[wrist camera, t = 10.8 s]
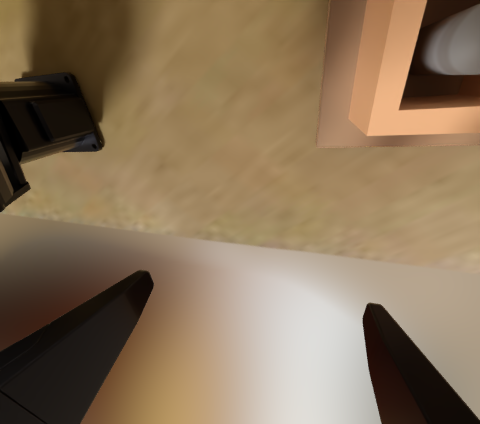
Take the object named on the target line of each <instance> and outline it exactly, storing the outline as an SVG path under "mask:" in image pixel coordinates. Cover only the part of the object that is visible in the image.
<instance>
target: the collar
mask: <svg viewBox="0 0 480 424" xmlns="http://www.w3.org/2000/svg"><path fill="white" fill-rule="evenodd" d="M426 3H427V0H367V3H366V10H365V16H364V23H363V29H362V35H361V42H360V48H359V54H358V61H357V67H356V73H355V80H354V86H353V93H352V99H351V105H350V112H349V118H348V119H349V120H350V121H351V122H352V123H354V124H355V125H356V126H357V127H358V128H359V129H360V130H361V131H362V132H363V133H364V134H365V135H366V136H387V135H423V134H459V133H480V74H478V75H464V78H463V81H462V83H461V86H460V89H459V92H458V94H456V95H440V96H425V97H409V98H402V95H403V91H404V87H405V83H406V80H407V76H408V72H409V68H410V64H411V60H412V56H413V53H414V49H415V45H416V41H417V37H418V33H419V30H420V26H421V22H422V18H423V14H424V10H425V6H426Z"/></svg>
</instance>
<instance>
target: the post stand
mask: <svg viewBox="0 0 480 424" xmlns="http://www.w3.org/2000/svg"><path fill="white" fill-rule="evenodd" d="M366 3H367V0H329V7H328V17H327V28H326V39H325V50H324V61H323V72H322V82H321V93H320V104H319V115H318V126H317V136H316V146H317V148H332V147H394V146H455V145H480V133H459V134H423V135H387V136H366V135H365V134H364V133H363V132H362V131H361V130H360V129H359V128H358V127H357V126H356V125H355V124H354V123H352V122H351V121H350V120H349V119H348V118H349V112H350V105H351V99H352V93H353V86H354V80H355V73H356V67H357V61H358V54H359V48H360V42H361V35H362V29H363V23H364V16H365V10H366ZM478 74H480V0H427V3H426V6H425V10H424V14H423V18H422V22H421V26H420V30H419V33H418V37H417V41H416V45H415V49H414V53H413V56H412V60H411V64H410V68H409V72H408V76H407V80H406V83H405V87H404V91H403V95H402V98H409V97H425V96H440V95H456V94H458V92H459V89H460V86H461V83H462V81H463V78H464V75H478Z"/></svg>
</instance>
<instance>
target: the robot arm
mask: <svg viewBox="0 0 480 424" xmlns="http://www.w3.org/2000/svg"><path fill="white" fill-rule="evenodd" d="M68 78H69V79H68ZM69 80H70V81H69ZM96 146H97V147H96ZM101 149H102V144H101V142H100V139H99V137H98V134H97V132H96V129H95V127H94V124H93V122H92V119H91V116H90V114H89V111H88V109H87V106H86V104H85V101H84V99H83V96H82V94H81V91H80V89H79V86H78V83H77V81H76V79H75V77H74V75H73V74H71V73H57V74H49V75H42V76H34V77H27V78H19V79H15V82H0V212H2V211H3V210H4V209H5V207H7V206H8V205H9V204H11V203H12V202H13V201H15V200H16V199H17V198H19V197H20V196H21V195H23V194H24V193H25V192H27V191H28V190H30V189H31V188H30V185H29V183H28V182H27V181H26V179H25V176H24V173H23V171H22V168H21V166H20V164H24V163H27V162H30V161H33V160H37V159H40V158H43V157H46V156H50V155H53V154H56V153H59V152H95V151H99V150H101ZM153 286H154V283H153V280H152V278H151V275H150V273H149V272H148V271H145V270H139V271H137V272H135V273H133V274H132V275H130V276H128V277H126V278H125V279H123V280H121V281H120V282H118V283H116V284H115V285H113V286H111V287H110V288H108V289H106V290H105V291H103V292H101V293H100V294H98V295H96V296H95V297H93V298H91V299H89V300H88V301H86V302H84V303H83V304H81V305H79V306H78V307H76V308H74V309H73V310H71V311H69V312H68V313H66V314H64V315H63V316H61V317H59V318H58V319H56V320H54V321H52V322H51V323H50V324H47V325H46V326H44V327H42V328H41V329H39V330H37V331H36V332H34V333H32V334H31V335H29V336H27V337H26V338H24V339H22V340H20V341H18V342H16V343H14V344H13V345H11V346H9V347H7V348H6V349H4V350H2V351H0V424H80V423H81V421H82V420H83V418H84V416H85V414H86V412H87V411H88V409H89V407H90V406H91V404H92V402H93V400H94V398H95V397H96V395H97V393H98V391H99V390H100V388H101V386H102V384H103V382H104V380H105V379H106V377H107V375H108V374H109V372H110V370H111V368H112V366H113V365H114V363H115V361H116V359H117V357H118V356H119V354H120V352H121V351H122V349H123V347H124V345H125V344H126V342H127V340H128V338H129V336H130V335H131V333H132V331H133V329H134V328H135V326H136V324H137V322H138V320H139V318H140V316H141V314H142V311H143V309H144V307H145V305H146V303H147V300H148V298H149V296H150V294H151V292H152V289H153ZM363 329H364V337H365V345H366V352H367V359H368V367H369V372H370V377H371V381H372V385H373V389H374V394H375V398H376V402H377V406H378V411H379V415H380V419H381V423H382V424H480V420H479V419H478V417H477V416H476V415H475V414H474V413H473V412H472V410H471V409H470V408H469V407H468V406H467V404H466V403H465V402H464V401H463V400H462V399H461V397H460V396H459V395H458V394H457V393H456V392H455V390H454V389H453V388H452V387H451V386H450V385H449V383H448V382H447V381H446V380H445V379H444V377H443V376H442V375H441V374H440V373H439V372H438V370H436V368H435V367H434V366H433V365H432V364H431V362H430V361H429V360H428V359H427V358H426V356H425V355H424V354H423V353H422V352H421V351H420V349H419V348H418V347H417V346H416V345H415V344H414V342H413V341H412V340H411V339H410V338H409V336H407V334H406V333H405V332H404V331H403V329H402V328H401V327H400V326H399V325H398V323H397V322H396V321H395V320H394V319H393V318H392V317H391V315H390V314H389V313H388V312H387V311H386V310H385V308H384V307H383V306H382V305H380V304H374V303H368V304H367V306H366V309H365V312H364V315H363Z"/></svg>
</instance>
